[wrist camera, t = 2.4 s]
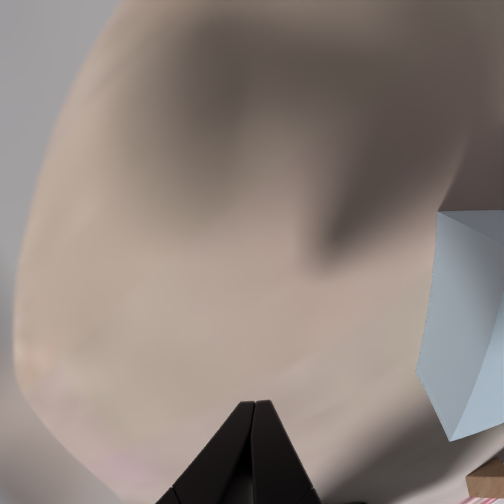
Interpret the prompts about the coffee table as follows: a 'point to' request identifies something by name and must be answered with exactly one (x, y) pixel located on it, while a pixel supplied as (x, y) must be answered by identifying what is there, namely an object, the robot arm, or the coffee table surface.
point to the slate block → (466, 323)
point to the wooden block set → (487, 481)
